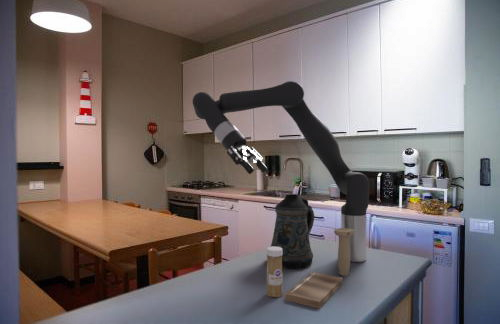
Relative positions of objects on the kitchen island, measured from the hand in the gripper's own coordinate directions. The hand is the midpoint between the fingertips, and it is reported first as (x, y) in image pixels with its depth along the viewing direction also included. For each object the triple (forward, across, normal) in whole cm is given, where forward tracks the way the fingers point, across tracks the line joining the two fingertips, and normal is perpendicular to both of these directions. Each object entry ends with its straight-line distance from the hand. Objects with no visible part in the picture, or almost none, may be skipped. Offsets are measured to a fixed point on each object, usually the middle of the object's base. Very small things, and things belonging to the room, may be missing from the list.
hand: (259, 171), depth 109 cm
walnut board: (+38, -1, +11) cm, 40 cm away
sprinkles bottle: (+32, -9, +17) cm, 38 cm away
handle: (+41, +17, +9) cm, 45 cm away
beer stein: (+26, +21, +24) cm, 41 cm away
